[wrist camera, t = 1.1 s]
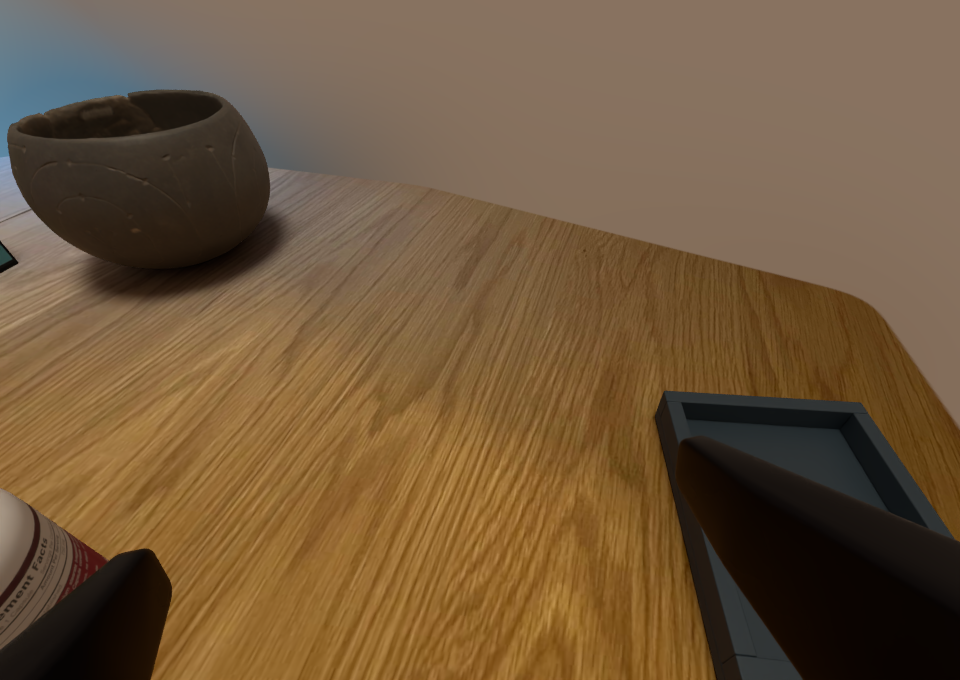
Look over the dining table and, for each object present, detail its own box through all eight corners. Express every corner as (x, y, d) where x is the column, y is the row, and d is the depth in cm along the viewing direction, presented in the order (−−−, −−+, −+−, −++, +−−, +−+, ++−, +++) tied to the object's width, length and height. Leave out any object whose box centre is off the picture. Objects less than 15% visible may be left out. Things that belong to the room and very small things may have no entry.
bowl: (157, 209, 51) (89, 84, 42) (313, 207, 50) (276, 80, 42) (38, 304, 37) (-96, 149, 29) (248, 303, 37) (174, 144, 28)
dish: (1025, 732, 16) (1081, 721, 15) (719, 695, 17) (742, 681, 16) (839, 427, 26) (861, 402, 25) (654, 415, 27) (663, 390, 26)
